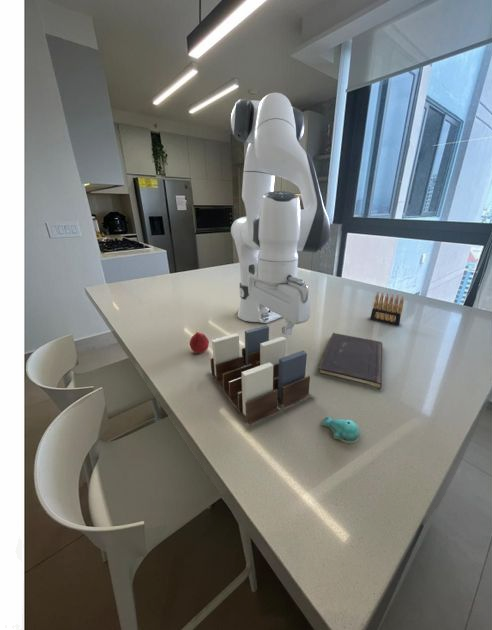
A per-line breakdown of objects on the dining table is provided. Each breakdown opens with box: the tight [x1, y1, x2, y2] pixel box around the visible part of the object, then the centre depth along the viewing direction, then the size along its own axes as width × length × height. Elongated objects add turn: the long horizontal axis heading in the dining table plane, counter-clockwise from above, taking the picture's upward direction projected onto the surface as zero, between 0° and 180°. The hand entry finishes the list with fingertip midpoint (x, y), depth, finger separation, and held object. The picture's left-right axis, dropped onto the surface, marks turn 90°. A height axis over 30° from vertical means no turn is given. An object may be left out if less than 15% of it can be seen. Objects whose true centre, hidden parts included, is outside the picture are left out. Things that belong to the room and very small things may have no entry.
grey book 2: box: [278, 350, 308, 401], centre depth 62 cm, size 7×2×11 cm, turn 122°
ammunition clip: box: [369, 291, 405, 327], centre depth 102 cm, size 11×2×12 cm, turn 55°
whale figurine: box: [321, 416, 360, 444], centre depth 53 cm, size 6×7×4 cm
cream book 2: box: [242, 362, 273, 416], centre depth 57 cm, size 7×2×11 cm, turn 122°
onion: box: [189, 330, 210, 354], centre depth 81 cm, size 6×6×8 cm
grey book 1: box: [244, 324, 270, 365], centre depth 74 cm, size 7×2×11 cm, turn 122°
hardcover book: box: [318, 332, 383, 390], centre depth 79 cm, size 16×23×2 cm
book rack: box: [209, 347, 312, 426], centre depth 67 cm, size 18×22×6 cm
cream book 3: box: [260, 336, 287, 365], centre depth 68 cm, size 7×2×11 cm, turn 122°
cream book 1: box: [211, 332, 241, 376], centre depth 69 cm, size 7×2×11 cm, turn 122°
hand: (274, 326), depth 64 cm, fingers open, 8 cm apart
